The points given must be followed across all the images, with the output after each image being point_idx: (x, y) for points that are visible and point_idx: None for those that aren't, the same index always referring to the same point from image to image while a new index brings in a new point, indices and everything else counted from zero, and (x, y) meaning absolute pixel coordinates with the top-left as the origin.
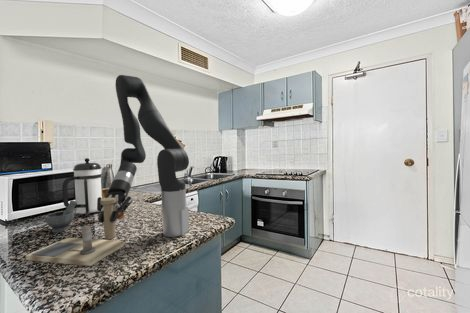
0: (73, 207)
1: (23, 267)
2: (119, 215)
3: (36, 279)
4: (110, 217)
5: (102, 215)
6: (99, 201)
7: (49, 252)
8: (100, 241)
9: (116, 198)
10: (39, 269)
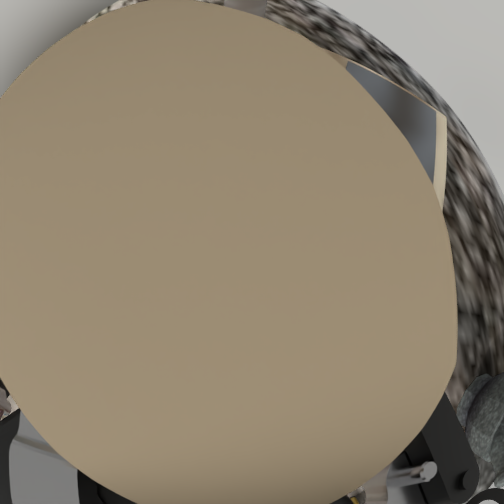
0: (497, 461)
1: (404, 78)
2: None
3: (313, 12)
4: None
5: None
6: (439, 436)
7: (392, 98)
8: None
9: (44, 444)
10: (350, 48)
